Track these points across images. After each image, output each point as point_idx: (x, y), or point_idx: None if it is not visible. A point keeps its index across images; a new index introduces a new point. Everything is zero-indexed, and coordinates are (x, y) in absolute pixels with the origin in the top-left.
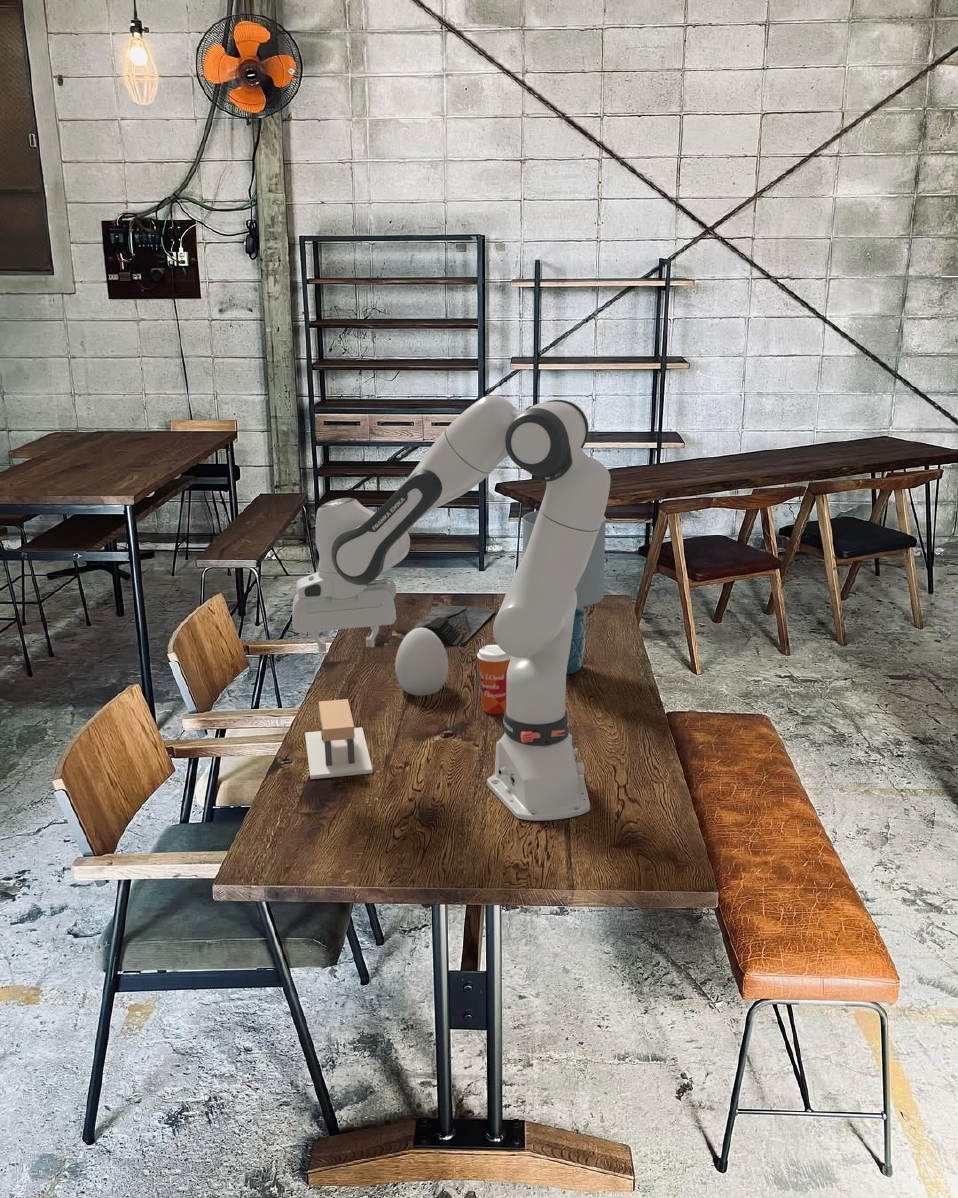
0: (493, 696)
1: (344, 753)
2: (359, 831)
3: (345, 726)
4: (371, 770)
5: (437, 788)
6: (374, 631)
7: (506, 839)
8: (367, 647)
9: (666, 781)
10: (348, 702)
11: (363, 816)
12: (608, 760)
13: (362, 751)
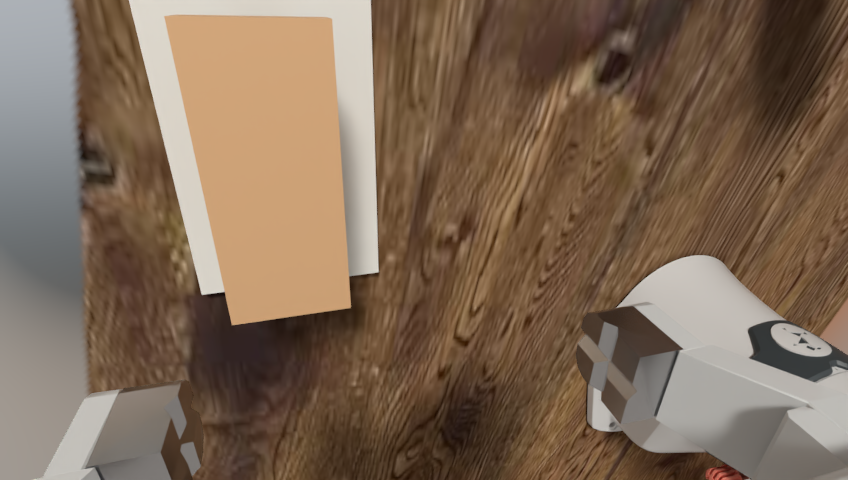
0: None
1: None
2: (333, 468)
3: (319, 305)
4: (375, 271)
5: (501, 335)
6: (756, 464)
7: (550, 464)
8: (579, 361)
9: (821, 322)
10: (334, 66)
11: (343, 427)
12: (810, 251)
13: (358, 165)
